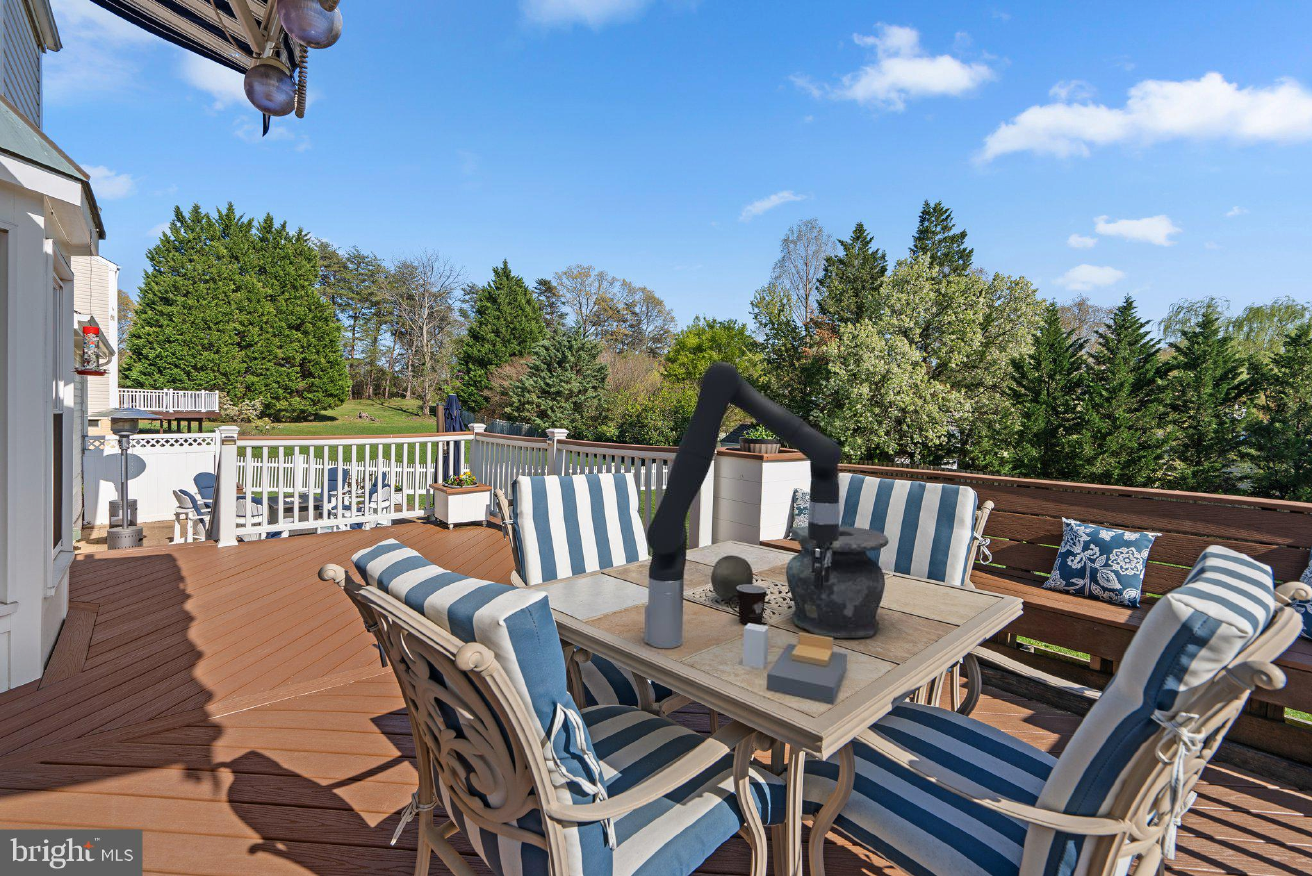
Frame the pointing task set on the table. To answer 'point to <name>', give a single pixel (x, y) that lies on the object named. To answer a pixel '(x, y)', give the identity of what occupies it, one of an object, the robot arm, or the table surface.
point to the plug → (755, 646)
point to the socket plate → (807, 676)
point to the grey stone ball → (730, 576)
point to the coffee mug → (750, 603)
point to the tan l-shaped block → (813, 649)
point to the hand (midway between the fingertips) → (821, 585)
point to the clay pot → (838, 585)
